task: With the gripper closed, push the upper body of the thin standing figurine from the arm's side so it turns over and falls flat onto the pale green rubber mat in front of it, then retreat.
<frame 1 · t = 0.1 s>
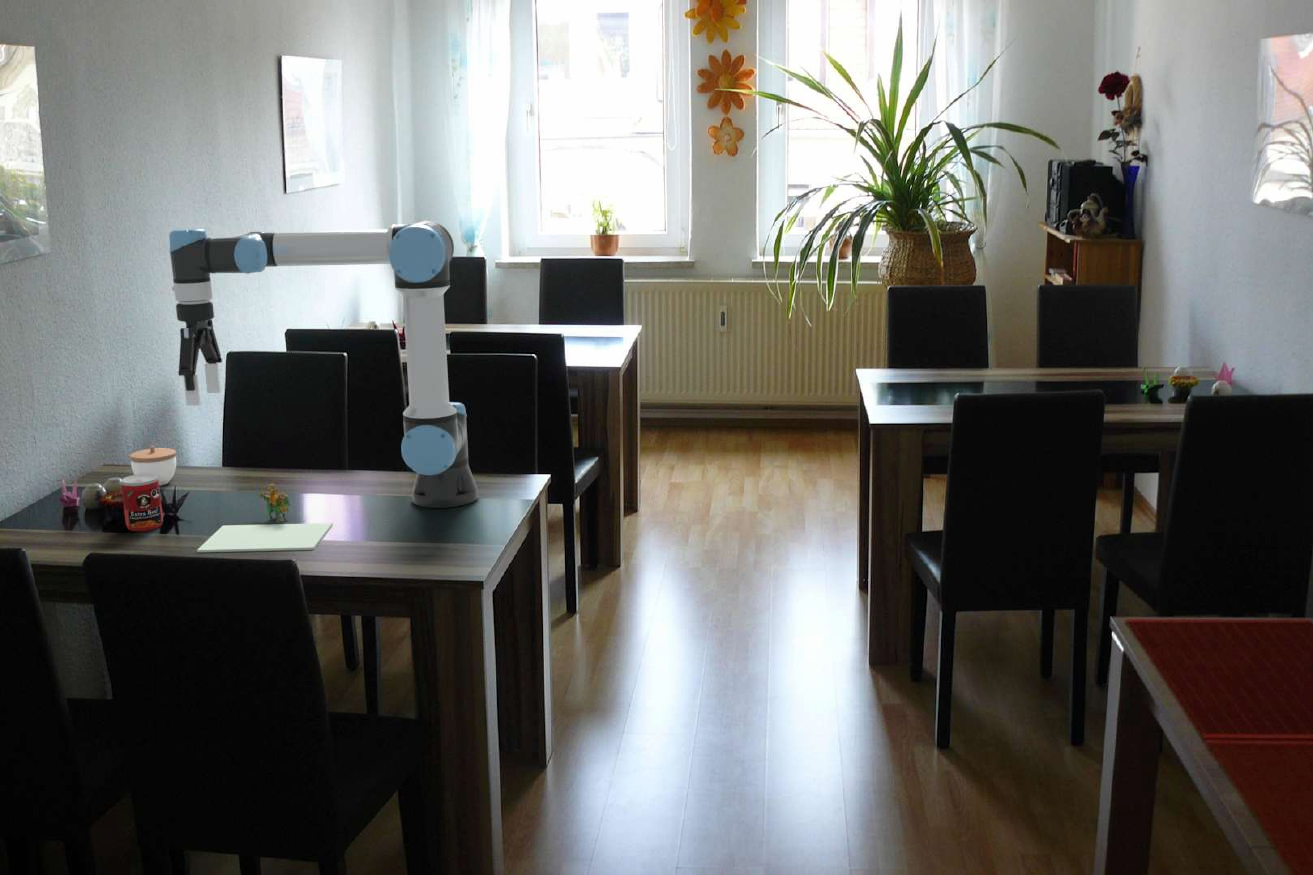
hand: (204, 398, 280), 28 cm above the table, fingers open, 13 cm apart
canned food: (145, 527, 284), on the table
mat: (267, 538, 273), on the table
figurine: (275, 520, 287), on the table
lidded jar: (156, 483, 320), on the table
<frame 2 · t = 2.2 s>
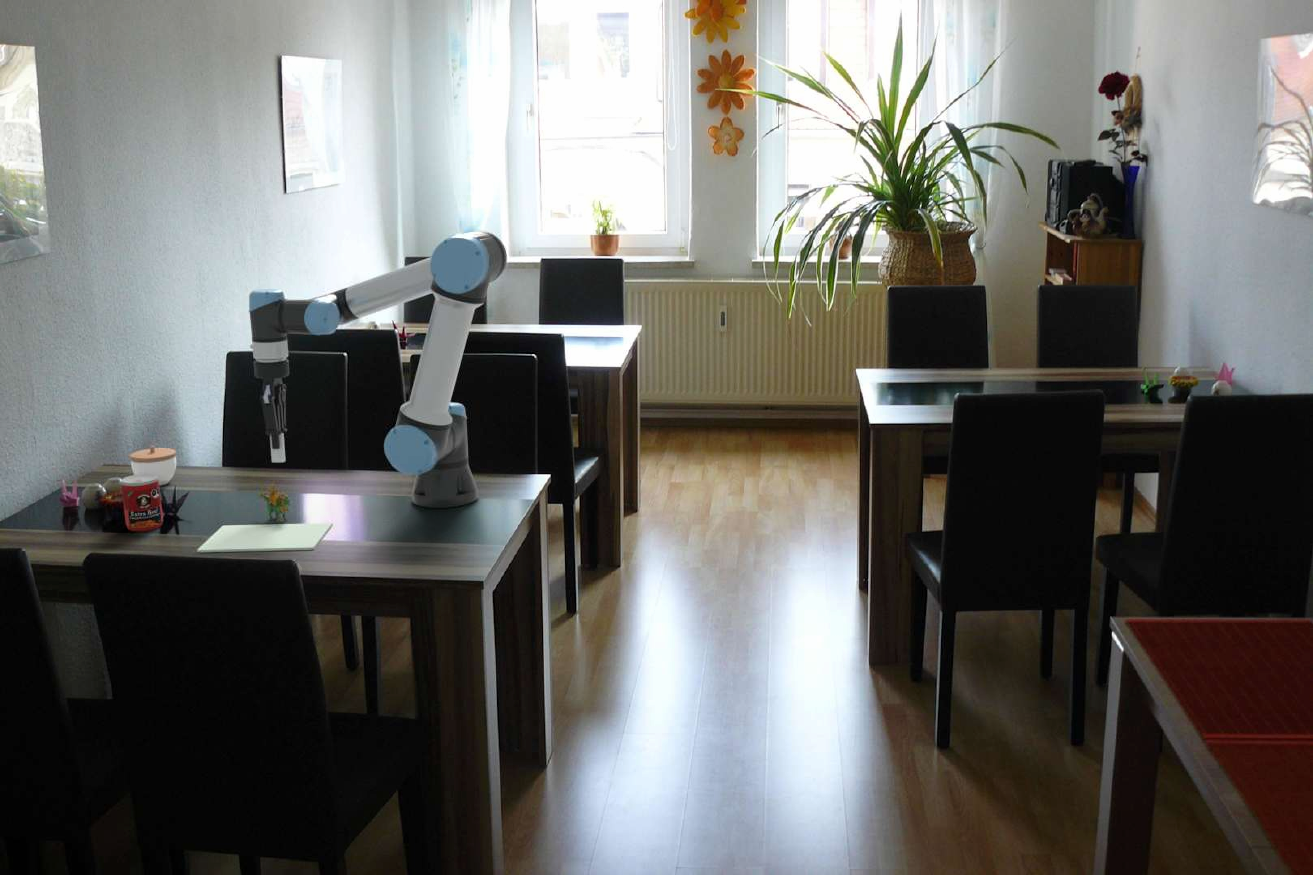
hand: (278, 461, 292), 11 cm above the table, fingers closed
nothing on the table moved.
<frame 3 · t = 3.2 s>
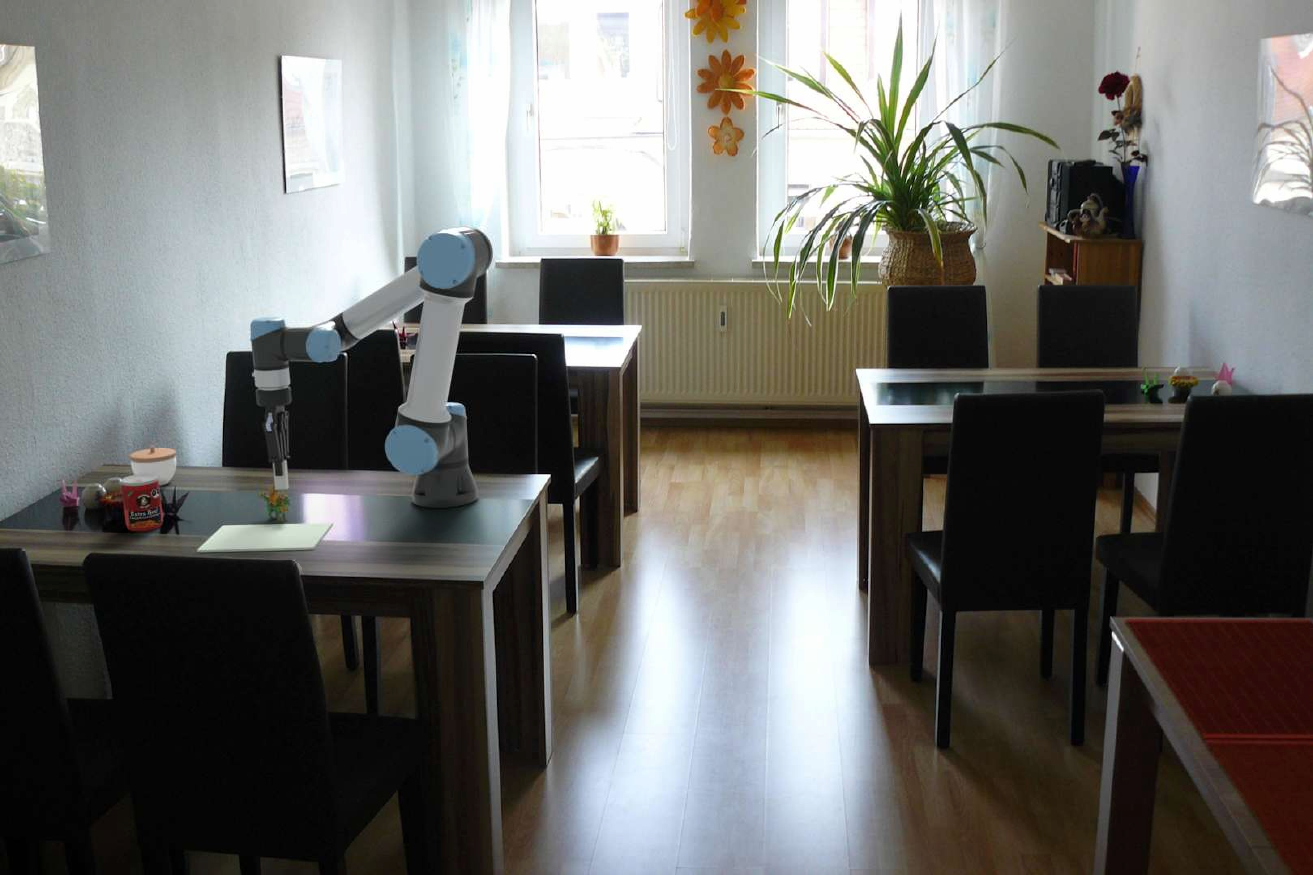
hand: (282, 488, 292), 5 cm above the table, fingers closed
nothing on the table moved.
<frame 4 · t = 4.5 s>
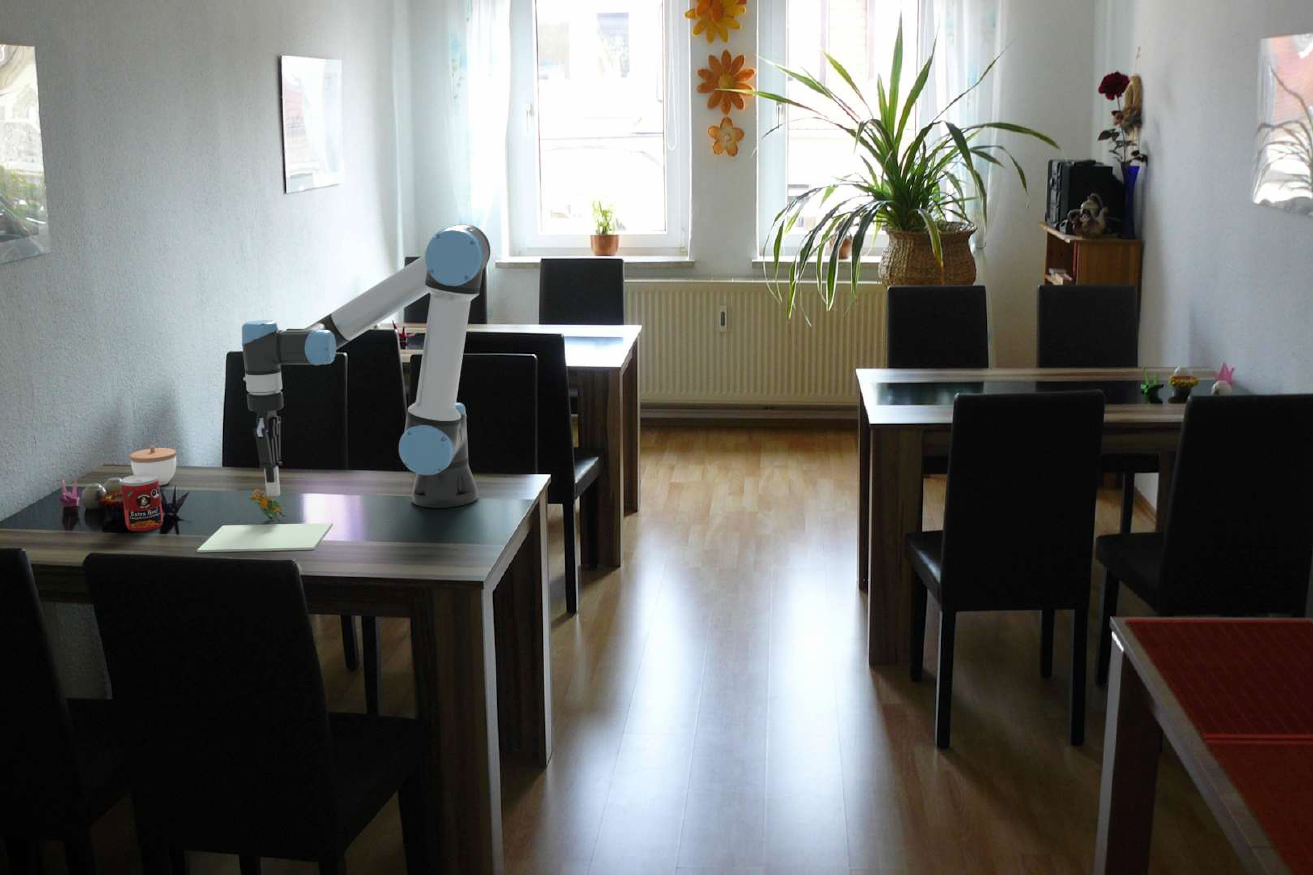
hand: (273, 495, 286), 5 cm above the table, fingers closed
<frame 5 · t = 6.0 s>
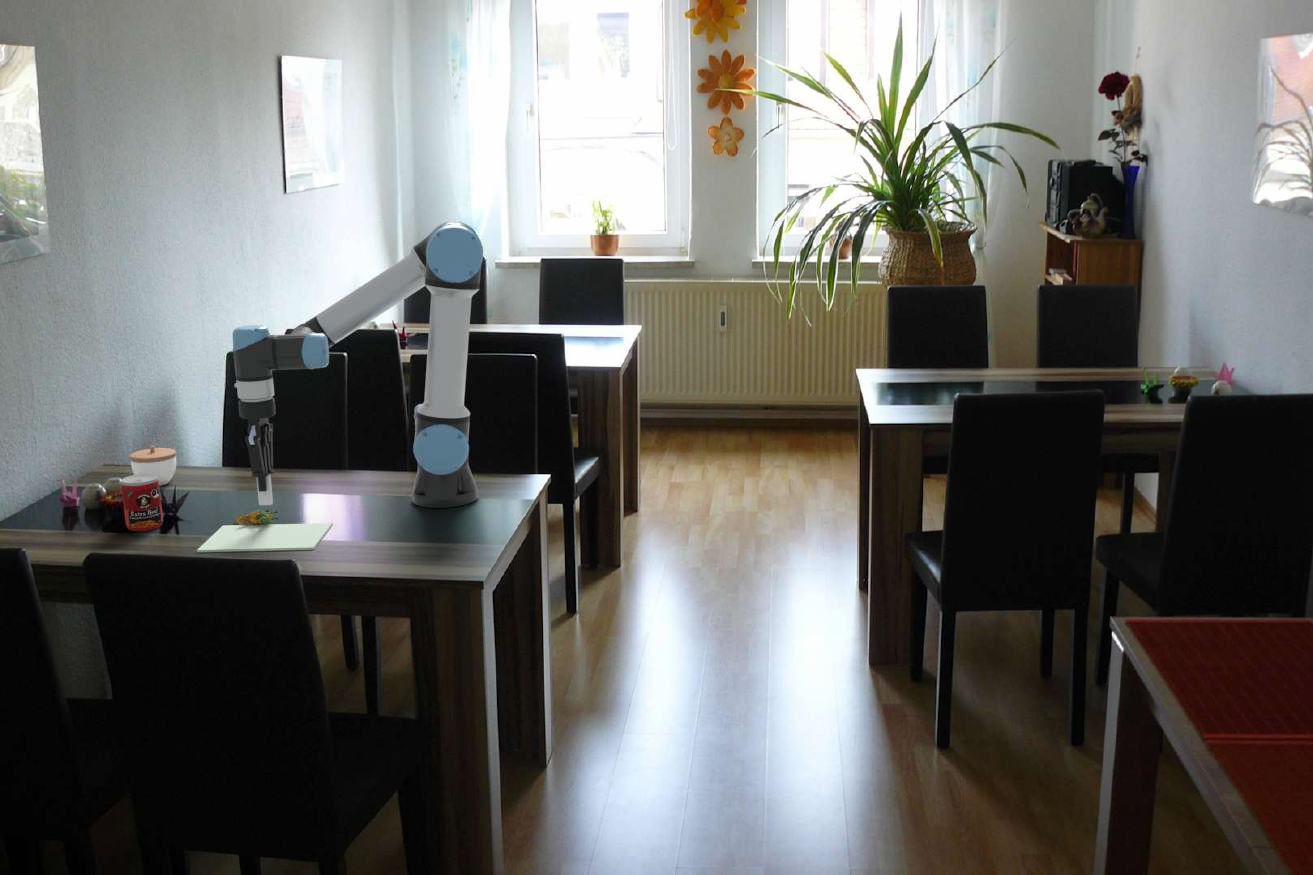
hand: (266, 504, 280), 5 cm above the table, fingers closed
figurine: (270, 514, 286), point 1 cm above the table, touching mat
everything else where it was.
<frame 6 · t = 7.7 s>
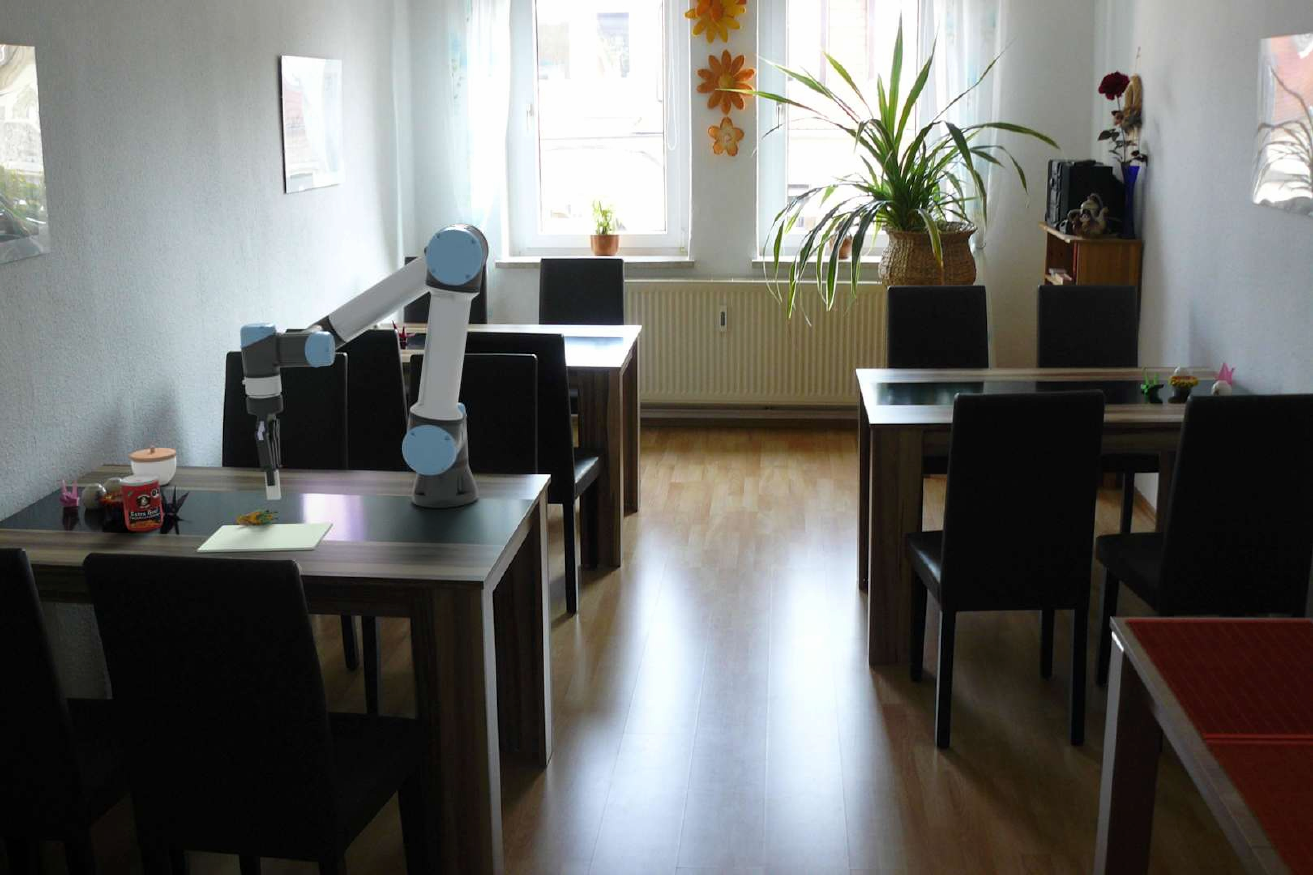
hand: (274, 498, 285), 5 cm above the table, fingers closed
nothing on the table moved.
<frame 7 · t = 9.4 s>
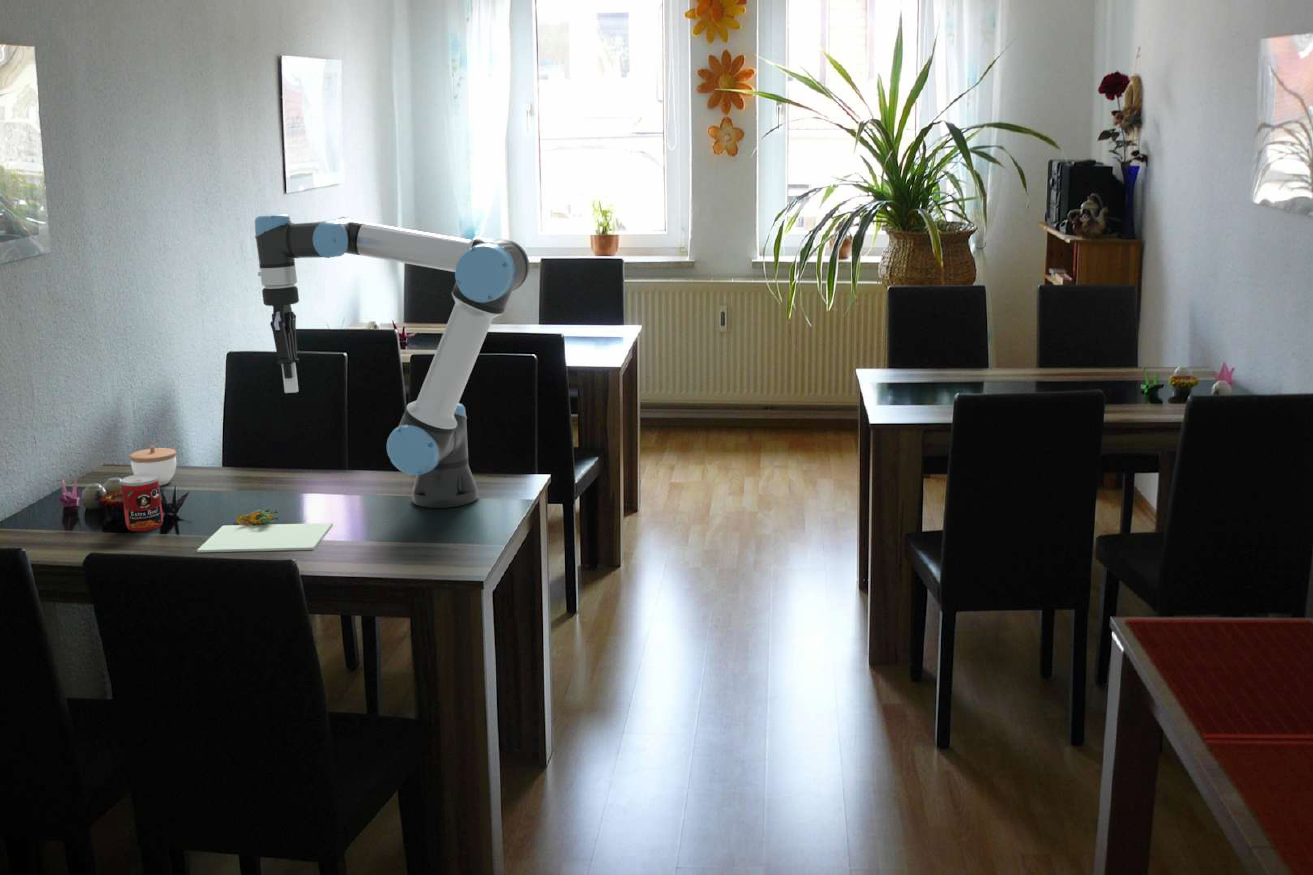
hand: (291, 391, 286), 28 cm above the table, fingers closed
nothing on the table moved.
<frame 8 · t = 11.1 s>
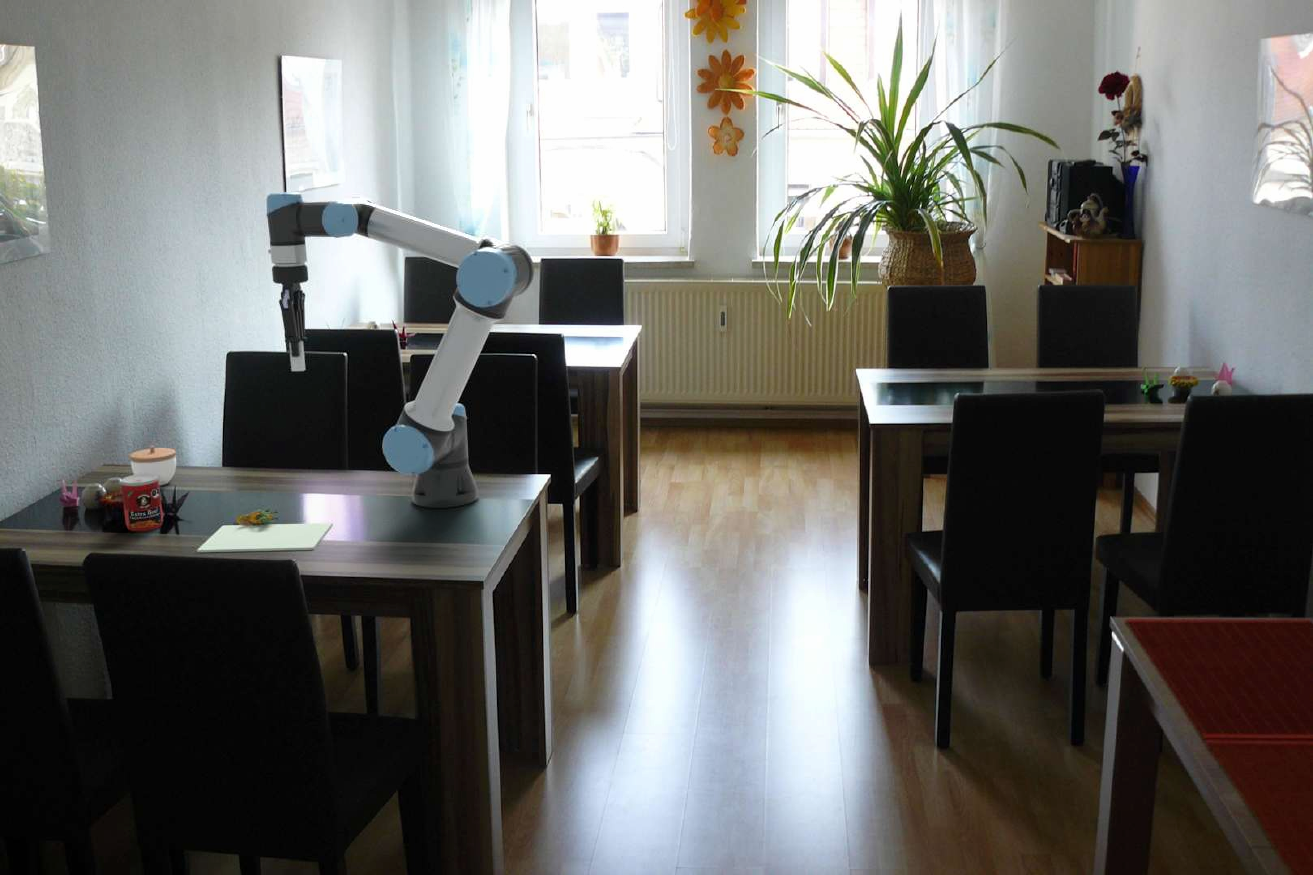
hand: (298, 370, 286), 32 cm above the table, fingers closed
nothing on the table moved.
at the end: figurine tilted 87°; figurine inside the target area on the mat (11.6 cm from its centre), point 1.4 cm above the mat's base; the gripper is holding nothing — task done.
